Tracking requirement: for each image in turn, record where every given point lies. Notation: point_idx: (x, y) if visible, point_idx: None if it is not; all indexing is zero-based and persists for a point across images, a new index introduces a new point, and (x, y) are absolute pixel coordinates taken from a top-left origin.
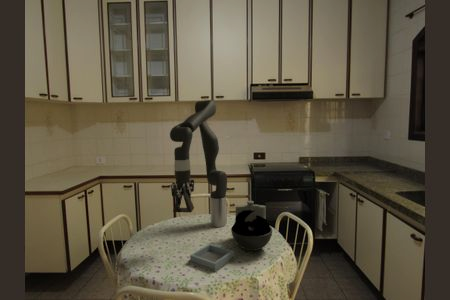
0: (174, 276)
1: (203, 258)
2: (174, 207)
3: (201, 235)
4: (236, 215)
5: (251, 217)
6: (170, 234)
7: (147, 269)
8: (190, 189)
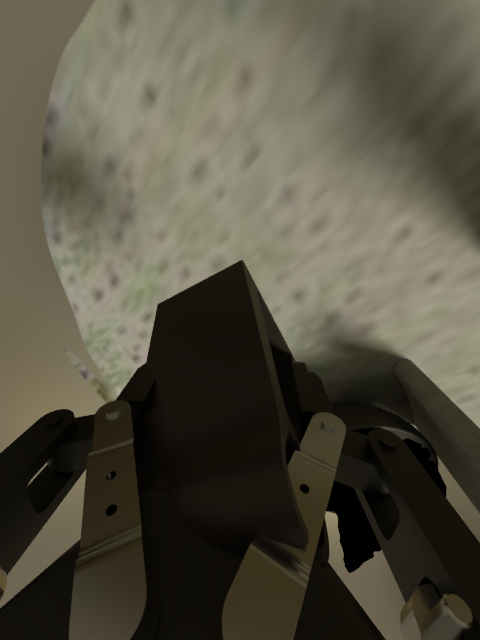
0: (115, 346)
1: None
2: (154, 327)
3: (380, 243)
4: (451, 431)
5: (459, 463)
6: (337, 86)
7: (80, 261)
8: (372, 478)
